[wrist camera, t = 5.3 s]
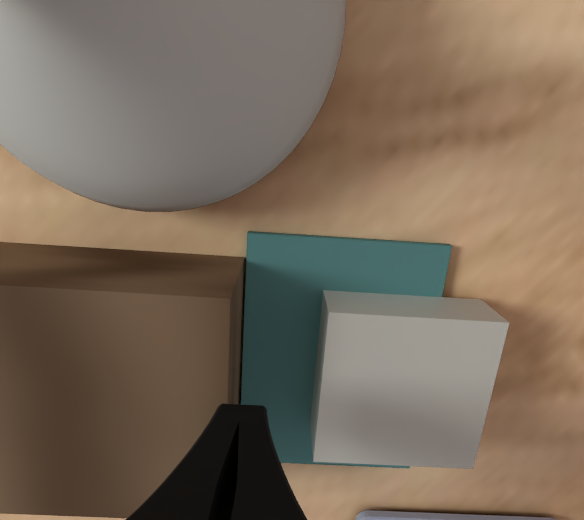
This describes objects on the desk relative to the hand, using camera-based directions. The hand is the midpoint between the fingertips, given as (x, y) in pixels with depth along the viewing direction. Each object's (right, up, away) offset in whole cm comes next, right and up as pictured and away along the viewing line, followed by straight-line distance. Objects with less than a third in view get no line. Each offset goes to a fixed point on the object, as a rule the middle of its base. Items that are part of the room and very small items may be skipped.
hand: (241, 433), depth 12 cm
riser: (-6, +2, +4) cm, 7 cm away
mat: (+3, +1, +4) cm, 6 cm away
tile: (+5, 0, +2) cm, 6 cm away
